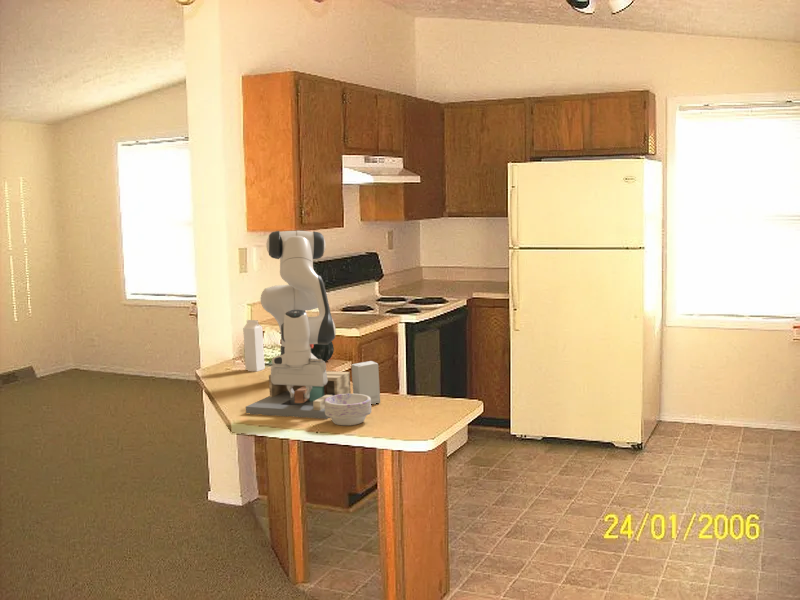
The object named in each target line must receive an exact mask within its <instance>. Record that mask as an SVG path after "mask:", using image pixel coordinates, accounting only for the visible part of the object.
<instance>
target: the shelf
mask: <svg viewBox="0 0 800 600" xmlns="http://www.w3.org/2000/svg"><path fill="white" fill-rule="evenodd" d="M326 373H327V380H328V382H327V384H326V385H327V393H334V394H335V395H339V394H352V393H351V391H352V390H351V375H350V374H351V373H350V371H336V370H335V371H334V370H332V371H331V370H326ZM268 384H269V386H268V387H269V396H270V397H274V396H276V395H278V394H280V393H283V392H285V391H288V389H287V385H274V384H273V383H272V382H271V374H269V375H268ZM301 387H303V386H296V385H293V387H292V388H293V390H294V391H296V390H297V389H299V388H301Z"/></svg>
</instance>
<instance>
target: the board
mask: <svg viewBox="0 0 800 600" xmlns="http://www.w3.org/2000/svg"><path fill="white" fill-rule="evenodd" d="M327 395H333V396H334V395H335V394H334V393H327ZM246 413H250V414H249V415H258V414H262V415H263V416H275V415H276V416H277V417H289V416H292V417H291V418H306V417H307V418H309V419H323V420H326V419H329V417H327V416H326V415H325V408H324V409H322V410H314V407H313V401H311V402H310V400H309V399H308V400H307V401H306V402H304V403H295V398H291V396H290V392H289V391H285V392H283V393H280V394H278V395H276V396H274V397H270V395H269V396H267V397H264V398H262V399H260V400H257V401H255V402H253V403H250V404H248V405H246V406H245V414H246ZM293 416H294V417H293Z"/></svg>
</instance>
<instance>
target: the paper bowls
mask: <svg viewBox="0 0 800 600" xmlns="http://www.w3.org/2000/svg"><path fill="white" fill-rule="evenodd" d="M324 404H325V415H326V416H327V417H329V418H330V419H331V421H332V423H333V424H335V425H338V426H354V425H356V426H357V425H359V424H361V423H363V422H364V421H365V420H366V417H367V416H368V415H370V414H371V413H372V405H371V398H370V397H369V396H367V395H363V394H353V393H351V394H339V395H334V396H330V397H328V398H326V399H325V403H324ZM329 418H328V419H329Z"/></svg>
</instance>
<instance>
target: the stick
mask: <svg viewBox="0 0 800 600" xmlns="http://www.w3.org/2000/svg"><path fill="white" fill-rule="evenodd" d="M330 396H333V395H324V396H323V397H321V398H319V399H317V400H315V401H313V407H314V410H322V409H324V408H325V404H324V403H325V399H326V398H328V397H330Z"/></svg>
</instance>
